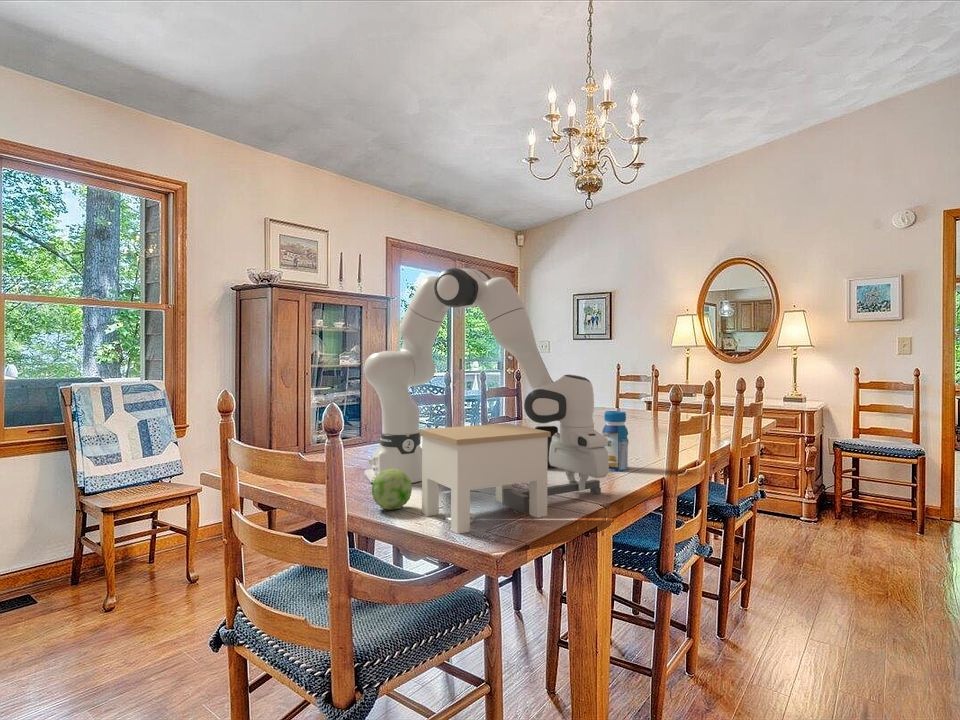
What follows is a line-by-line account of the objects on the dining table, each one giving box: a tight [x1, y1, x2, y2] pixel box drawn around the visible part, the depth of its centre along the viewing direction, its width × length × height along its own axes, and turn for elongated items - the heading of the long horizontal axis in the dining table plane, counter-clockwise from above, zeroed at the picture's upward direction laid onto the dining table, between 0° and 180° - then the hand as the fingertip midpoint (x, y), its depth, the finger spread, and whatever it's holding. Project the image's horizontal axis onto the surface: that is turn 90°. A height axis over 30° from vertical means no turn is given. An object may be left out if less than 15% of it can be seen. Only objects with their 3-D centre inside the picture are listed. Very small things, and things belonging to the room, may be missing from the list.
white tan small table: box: [419, 422, 551, 535], centre depth 132 cm, size 19×25×20 cm
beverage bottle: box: [601, 410, 629, 473], centre depth 180 cm, size 8×8×20 cm
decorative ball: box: [371, 469, 413, 511], centre depth 137 cm, size 10×10×10 cm
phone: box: [534, 425, 559, 470], centre depth 182 cm, size 8×1×15 cm, turn 103°
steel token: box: [444, 512, 476, 525], centre depth 129 cm, size 7×7×1 cm
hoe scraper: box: [502, 479, 602, 515], centre depth 143 cm, size 28×9×4 cm, turn 121°
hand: (576, 488), depth 147 cm, fingers closed on hoe scraper, 2 cm apart
